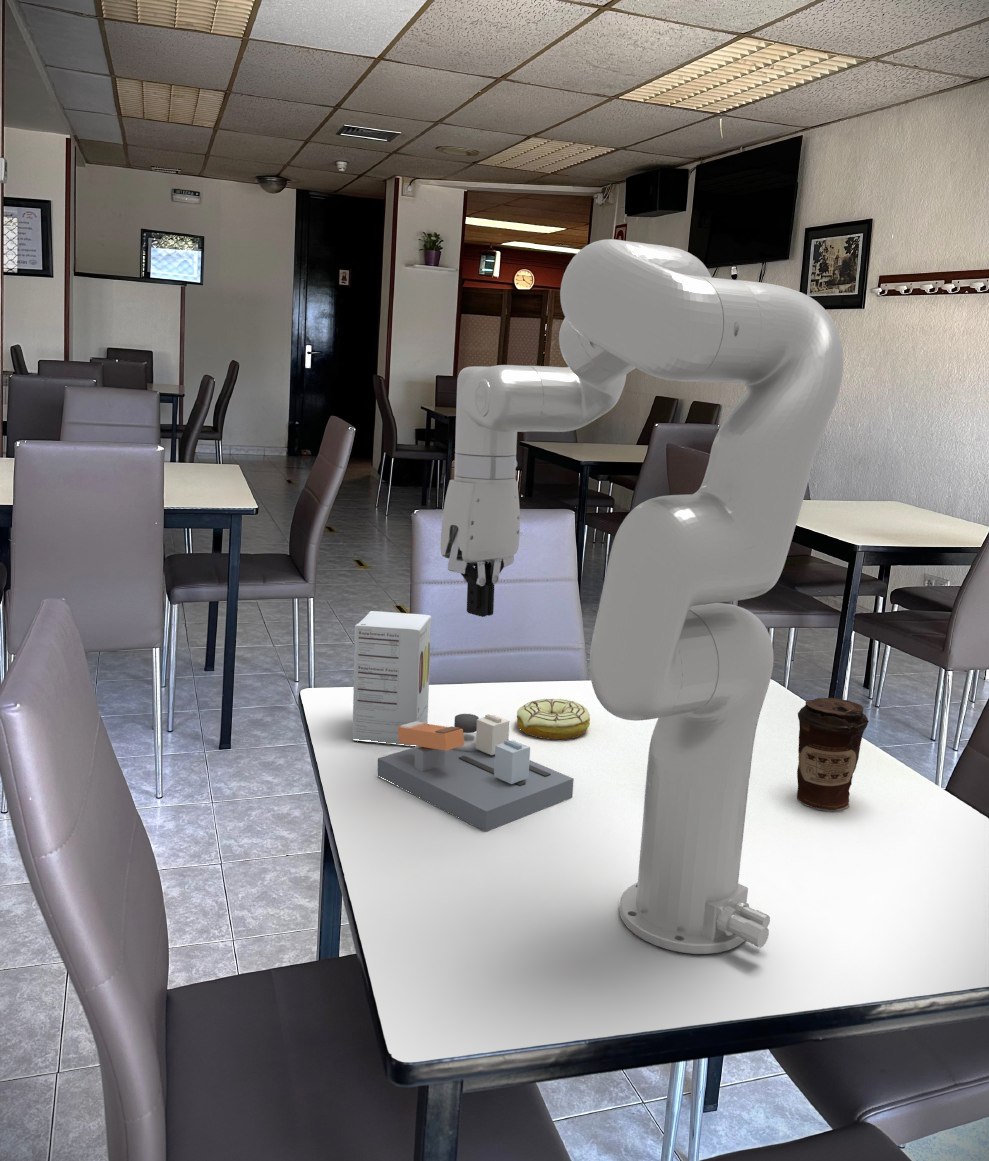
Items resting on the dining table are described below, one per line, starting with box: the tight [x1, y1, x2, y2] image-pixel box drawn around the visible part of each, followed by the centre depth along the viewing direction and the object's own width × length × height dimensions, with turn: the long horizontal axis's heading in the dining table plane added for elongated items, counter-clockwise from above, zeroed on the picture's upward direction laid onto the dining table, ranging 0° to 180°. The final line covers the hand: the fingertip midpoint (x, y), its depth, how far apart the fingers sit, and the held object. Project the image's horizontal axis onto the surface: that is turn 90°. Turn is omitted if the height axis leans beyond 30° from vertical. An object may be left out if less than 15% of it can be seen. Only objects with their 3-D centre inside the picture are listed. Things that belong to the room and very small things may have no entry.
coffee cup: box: [796, 697, 870, 812], centre depth 127 cm, size 9×8×13 cm
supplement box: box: [352, 610, 432, 745], centre depth 143 cm, size 10×9×17 cm
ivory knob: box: [475, 714, 510, 755], centre depth 133 cm, size 3×3×4 cm
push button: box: [453, 713, 480, 733], centre depth 135 cm, size 3×3×2 cm
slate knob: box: [494, 739, 531, 784], centre depth 124 cm, size 3×3×4 cm
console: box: [377, 732, 575, 832], centre depth 128 cm, size 20×15×5 cm
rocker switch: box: [398, 721, 464, 751], centre depth 127 cm, size 9×3×2 cm, turn 44°
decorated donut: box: [516, 698, 591, 740], centre depth 149 cm, size 10×11×4 cm
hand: (479, 613), depth 129 cm, fingers closed
